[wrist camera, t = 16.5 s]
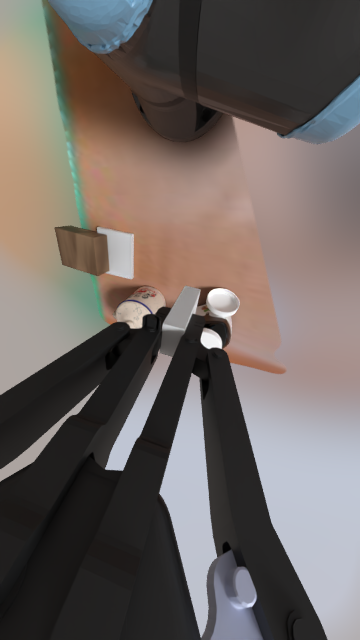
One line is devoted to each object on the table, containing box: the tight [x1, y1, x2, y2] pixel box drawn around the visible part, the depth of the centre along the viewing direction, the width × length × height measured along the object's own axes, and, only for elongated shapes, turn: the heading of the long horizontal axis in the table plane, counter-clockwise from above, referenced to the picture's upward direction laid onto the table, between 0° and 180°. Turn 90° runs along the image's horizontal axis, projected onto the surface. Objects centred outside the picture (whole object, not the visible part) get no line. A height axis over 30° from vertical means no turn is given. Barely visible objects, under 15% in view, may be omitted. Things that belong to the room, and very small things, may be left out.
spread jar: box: [195, 288, 240, 349], centre depth 41 cm, size 12×11×12 cm
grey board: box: [97, 227, 134, 279], centre depth 44 cm, size 10×8×1 cm
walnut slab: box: [55, 226, 110, 276], centre depth 44 cm, size 4×8×10 cm
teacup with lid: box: [113, 286, 166, 329], centre depth 45 cm, size 12×9×12 cm
